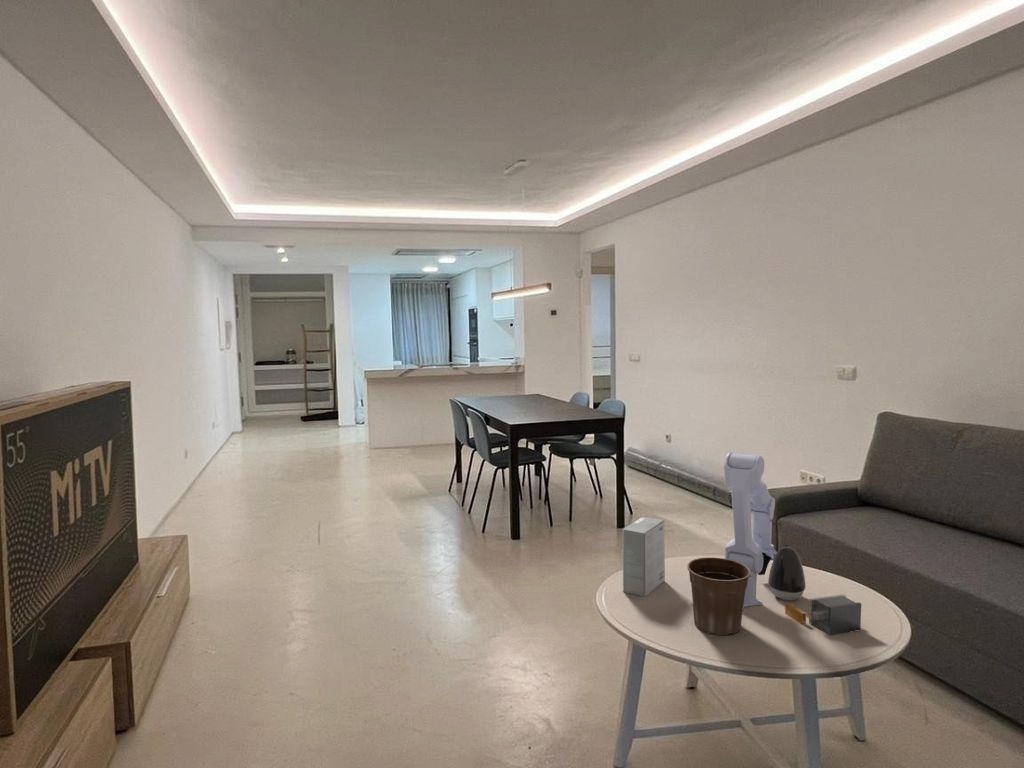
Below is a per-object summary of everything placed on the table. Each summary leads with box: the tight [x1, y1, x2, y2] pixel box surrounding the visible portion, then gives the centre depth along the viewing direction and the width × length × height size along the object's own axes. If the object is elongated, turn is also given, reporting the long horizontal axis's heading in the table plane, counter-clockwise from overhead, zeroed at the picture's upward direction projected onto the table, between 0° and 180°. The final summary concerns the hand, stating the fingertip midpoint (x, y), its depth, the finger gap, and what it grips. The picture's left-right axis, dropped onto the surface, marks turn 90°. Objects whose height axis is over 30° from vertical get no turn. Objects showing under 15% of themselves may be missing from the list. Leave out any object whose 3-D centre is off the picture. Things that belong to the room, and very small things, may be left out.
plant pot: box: [686, 556, 750, 636], centre depth 174 cm, size 16×16×16 cm
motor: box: [784, 593, 862, 636], centre depth 177 cm, size 15×14×7 cm
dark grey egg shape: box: [767, 544, 806, 602], centre depth 192 cm, size 10×10×15 cm
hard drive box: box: [621, 516, 666, 598], centre depth 201 cm, size 16×8×20 cm, turn 144°
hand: (760, 574), depth 205 cm, fingers closed
